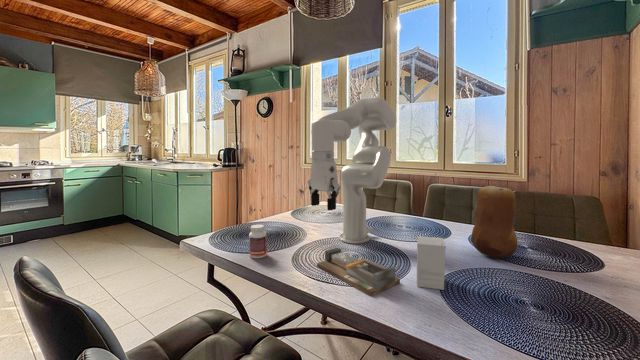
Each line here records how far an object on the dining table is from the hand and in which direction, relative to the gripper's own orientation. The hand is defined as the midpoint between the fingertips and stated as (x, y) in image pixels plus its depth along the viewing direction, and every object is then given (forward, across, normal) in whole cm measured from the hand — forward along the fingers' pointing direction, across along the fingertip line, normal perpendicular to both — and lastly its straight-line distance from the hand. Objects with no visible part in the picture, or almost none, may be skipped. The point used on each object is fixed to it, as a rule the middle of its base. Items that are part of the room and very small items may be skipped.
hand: (323, 207), depth 102 cm
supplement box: (+19, -33, -13) cm, 40 cm away
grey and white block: (+17, -11, 0) cm, 20 cm away
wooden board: (+18, -16, 0) cm, 24 cm away
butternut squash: (+18, -35, -48) cm, 62 cm away
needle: (+17, -19, +2) cm, 25 cm away
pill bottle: (+19, +17, +17) cm, 30 cm away
